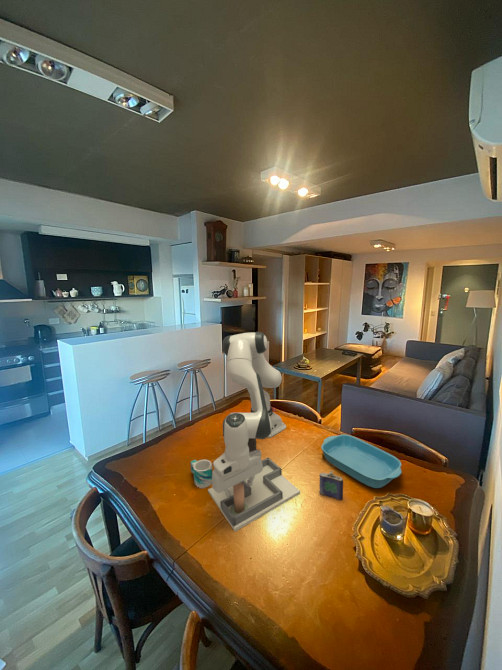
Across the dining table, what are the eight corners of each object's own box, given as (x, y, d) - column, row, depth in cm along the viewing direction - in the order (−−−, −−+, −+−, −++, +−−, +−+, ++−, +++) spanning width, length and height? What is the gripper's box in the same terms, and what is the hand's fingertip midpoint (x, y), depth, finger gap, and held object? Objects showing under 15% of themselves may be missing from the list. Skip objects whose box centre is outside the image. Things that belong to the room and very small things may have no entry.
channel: (267, 464, 131) (267, 456, 131) (300, 493, 112) (300, 484, 112) (208, 492, 115) (207, 483, 114) (234, 531, 96) (234, 521, 95)
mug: (201, 491, 116) (199, 473, 114) (186, 477, 124) (184, 461, 123) (216, 481, 121) (215, 464, 120) (201, 469, 130) (199, 453, 128)
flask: (318, 494, 111) (319, 471, 109) (320, 489, 114) (320, 467, 112) (342, 501, 107) (343, 477, 106) (343, 496, 110) (344, 472, 108)
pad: (242, 500, 108) (242, 499, 108) (252, 512, 103) (252, 511, 102) (227, 508, 105) (227, 507, 105) (236, 521, 99) (236, 520, 99)
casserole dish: (312, 456, 136) (312, 443, 135) (340, 441, 149) (340, 429, 147) (383, 502, 106) (384, 486, 105) (411, 478, 119) (412, 463, 118)
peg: (241, 503, 106) (240, 481, 104) (246, 510, 103) (245, 487, 101) (232, 508, 104) (231, 485, 102) (237, 515, 101) (236, 491, 99)
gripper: (256, 443, 108) (257, 474, 111) (208, 464, 97) (211, 497, 100) (265, 451, 103) (266, 483, 105) (216, 474, 92) (219, 508, 95)
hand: (239, 490), depth 102 cm, fingers open, 8 cm apart
